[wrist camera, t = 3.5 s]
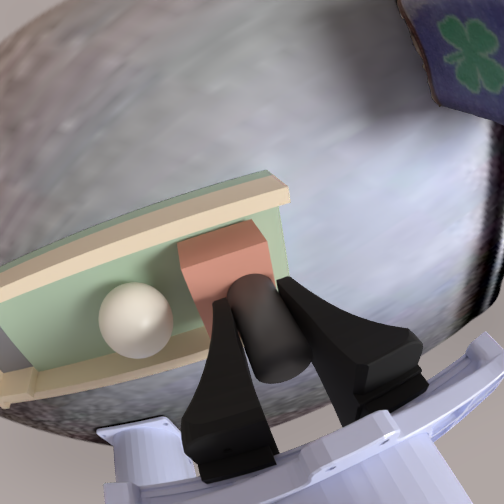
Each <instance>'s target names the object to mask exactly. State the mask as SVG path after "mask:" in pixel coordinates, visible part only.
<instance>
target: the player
mask: <svg viewBox="0 0 504 504" xmlns="http://www.w3.org/2000/svg"><path fill="white" fill-rule="evenodd" d="M177 248H178V254H179V261H180V267H181V271H182V273H183V276H184V278H185V281H186V283H187V286H188V288H189V291H190V293H191V296H192V298H193V300H194V303H195V305H196V307H197V310H198V312H199V314H200V317H201V319H202V321H203V324H204V326H205V328H206V330H207V333H208V335H209V337H210V339H211V334H212V324H213V307H212V303H213V302H214V301H216V300H219V299H222V298H225V297H226V298H227V300H228V303H229V306H230V309H231V312H232V315H233V318H234V321H235V324H236V327H237V330H238V332H239V335H240V338H241V340H242V343H243V346H244V348H245V351H246V354H247V356H248V359H249V362H250V364H251V367H252V370H253V372H254V375H255V377H256V378H257V379H258V380H259V381H261V382H263V383H268V384H274V383H281V382H284V381H287V380H290V379H292V378H294V377H296V376H297V375H299V374H300V373H302V372H303V371H304V370H305V369H306V368H307V367H308V366H309V364H310V363H311V361H312V358H313V350H312V348H311V347H310V345H309V343H308V342H307V340H306V338H305V336H304V335H303V333H302V331H301V330H300V328H299V326H298V325H297V323H296V321H295V319H294V318H293V316H292V314H291V313H290V311H289V309H288V308H287V306H286V304H285V302H284V301H283V299H282V297H281V296H280V294H279V292H278V291H277V289H276V284H275V279H274V274H273V268H272V263H271V258H270V253H269V248H268V243H267V240H266V239H265V237H264V236H263V234H262V233H261V232H260V230H259V229H258V227H257V226H256V224H255V223H254V222H253V220H252V219H249V220H246V221H243V222H240V223H237V224H233V225H230V226H227V227H224V228H221V229H218V230H215V231H212V232H208V233H205V234H202V235H199V236H196V237H193V238H190V239H187V240H184V241H181V242H178V243H177Z"/></svg>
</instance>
